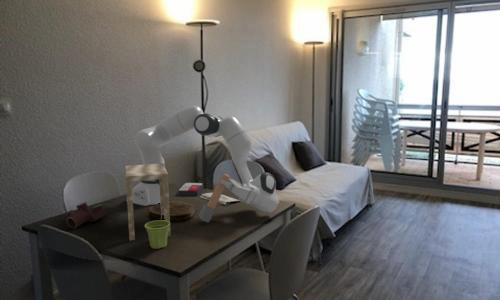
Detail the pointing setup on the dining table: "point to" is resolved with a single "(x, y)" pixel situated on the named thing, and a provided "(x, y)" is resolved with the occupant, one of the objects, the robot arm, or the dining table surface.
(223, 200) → the newspaper
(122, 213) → the dining table surface
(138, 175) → the frame
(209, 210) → the mallet
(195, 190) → the calculator
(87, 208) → the bracket
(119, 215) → the dining table surface
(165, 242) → the plant pot
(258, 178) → the robot arm
